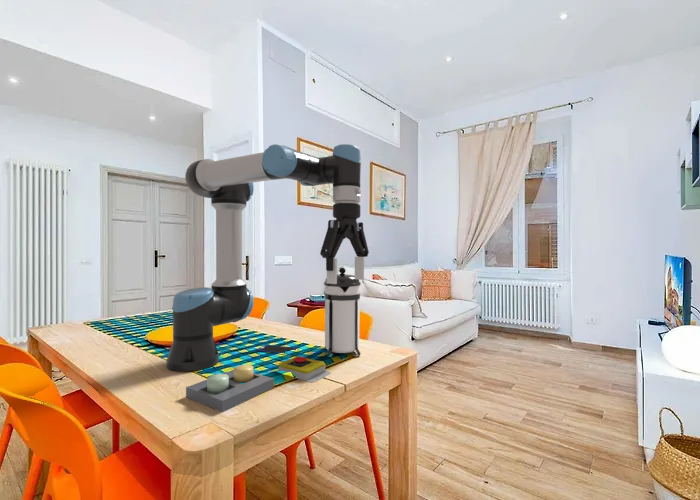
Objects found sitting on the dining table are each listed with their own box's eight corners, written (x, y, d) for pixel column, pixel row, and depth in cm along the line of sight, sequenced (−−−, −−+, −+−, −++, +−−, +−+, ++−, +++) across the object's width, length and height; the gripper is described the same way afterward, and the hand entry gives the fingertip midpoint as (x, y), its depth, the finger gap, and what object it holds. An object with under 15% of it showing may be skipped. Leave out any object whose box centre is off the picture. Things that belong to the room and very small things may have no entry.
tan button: (229, 380, 94) (229, 369, 93) (244, 374, 98) (244, 363, 98) (242, 384, 91) (242, 372, 91) (257, 378, 95) (257, 367, 95)
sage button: (202, 390, 87) (202, 378, 87) (220, 384, 91) (220, 372, 91) (215, 395, 84) (215, 383, 84) (233, 388, 88) (233, 376, 88)
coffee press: (373, 351, 126) (374, 267, 126) (343, 362, 114) (343, 269, 114) (338, 342, 138) (338, 265, 137) (307, 351, 126) (307, 267, 125)
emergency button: (294, 351, 113) (332, 359, 105) (294, 364, 113) (332, 374, 105) (273, 359, 106) (312, 368, 97) (273, 373, 106) (312, 384, 98)
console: (186, 397, 88) (186, 387, 88) (238, 377, 101) (238, 368, 101) (222, 411, 80) (222, 400, 80) (273, 387, 94) (273, 378, 94)
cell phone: (265, 346, 133) (265, 344, 133) (299, 350, 129) (299, 348, 129) (254, 352, 126) (254, 350, 126) (289, 356, 122) (289, 354, 122)
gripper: (330, 197, 84) (330, 286, 85) (380, 206, 105) (380, 278, 105) (306, 199, 88) (306, 284, 89) (358, 208, 109) (358, 277, 110)
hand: (346, 281), depth 97 cm, fingers open, 13 cm apart
